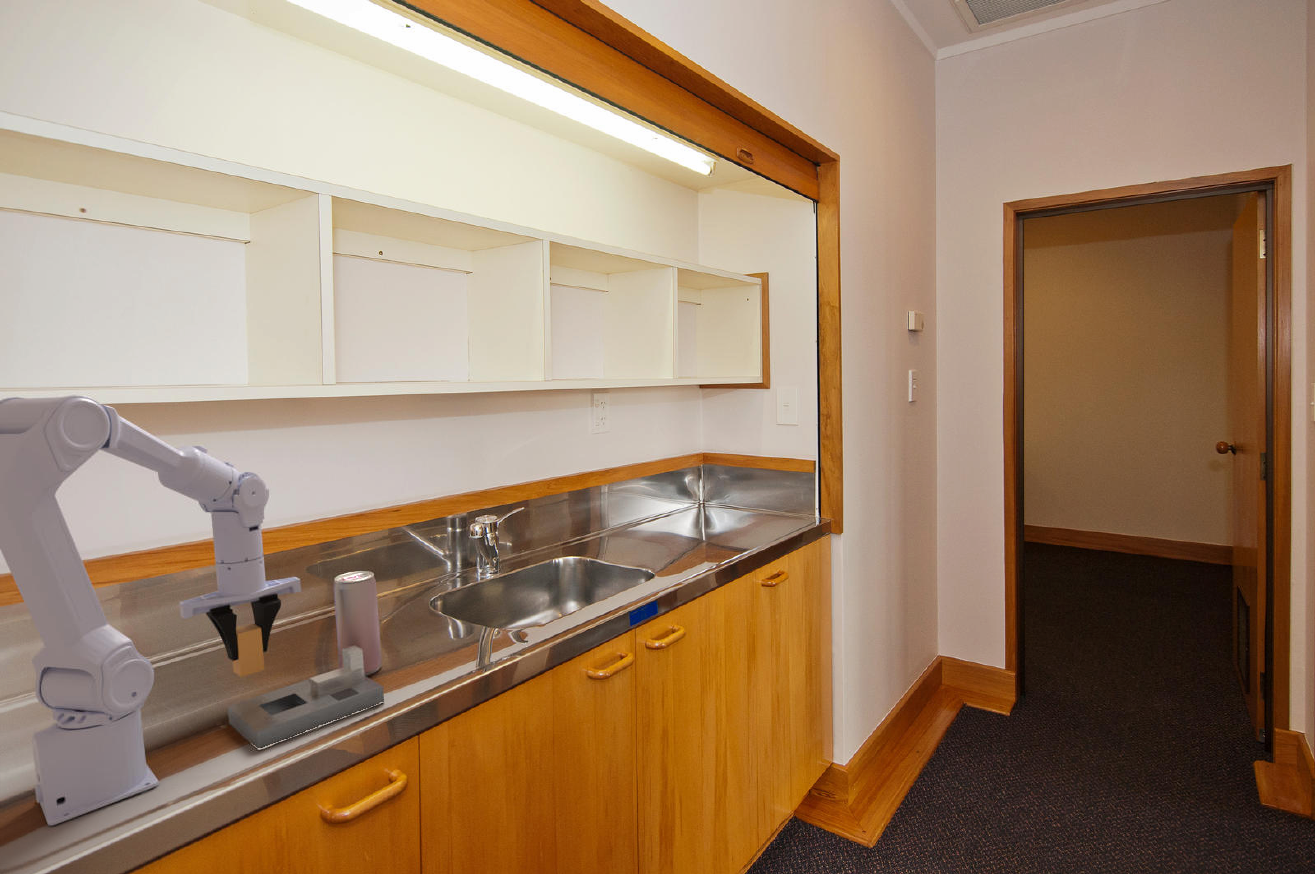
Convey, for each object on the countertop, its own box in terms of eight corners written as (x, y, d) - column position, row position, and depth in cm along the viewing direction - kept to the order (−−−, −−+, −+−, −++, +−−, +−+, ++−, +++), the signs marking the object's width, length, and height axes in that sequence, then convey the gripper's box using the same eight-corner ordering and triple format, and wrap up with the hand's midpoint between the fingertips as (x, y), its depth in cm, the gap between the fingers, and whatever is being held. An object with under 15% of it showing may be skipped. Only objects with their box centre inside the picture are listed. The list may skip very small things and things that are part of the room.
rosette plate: (258, 751, 86) (256, 732, 86) (229, 723, 93) (227, 705, 93) (384, 703, 98) (383, 686, 97) (349, 681, 105) (348, 666, 105)
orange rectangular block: (240, 677, 96) (237, 634, 95) (233, 671, 98) (229, 629, 97) (264, 669, 98) (261, 628, 98) (256, 664, 100) (253, 623, 100)
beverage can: (334, 671, 109) (326, 577, 108) (372, 660, 113) (365, 568, 112) (349, 682, 105) (341, 584, 103) (388, 670, 109) (381, 575, 108)
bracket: (318, 695, 95) (315, 664, 95) (311, 690, 97) (308, 659, 96) (364, 679, 100) (362, 649, 99) (356, 675, 101) (354, 645, 101)
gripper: (284, 544, 105) (291, 633, 106) (169, 565, 94) (178, 664, 95) (303, 550, 100) (310, 643, 101) (184, 574, 89) (194, 677, 90)
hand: (247, 654), depth 98 cm, fingers closed on orange rectangular block, 3 cm apart
